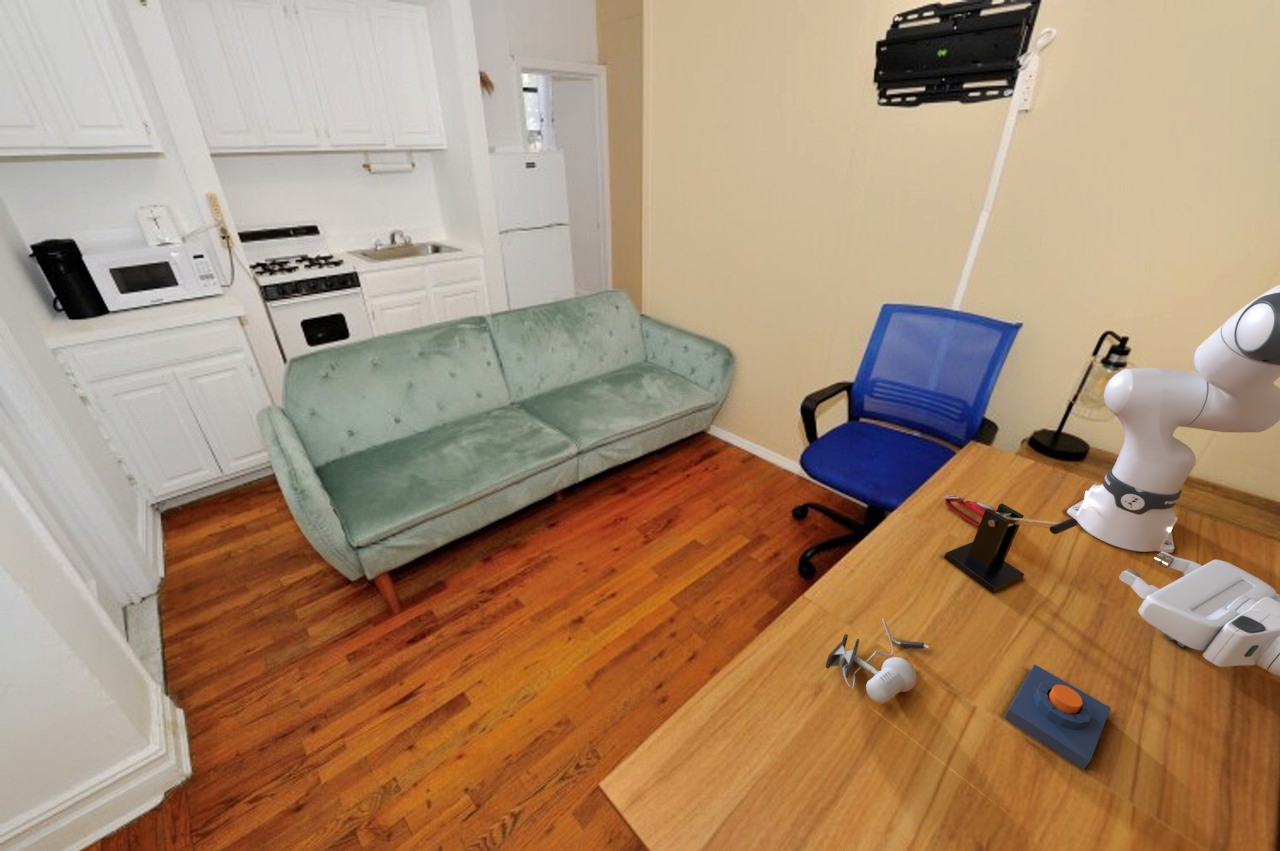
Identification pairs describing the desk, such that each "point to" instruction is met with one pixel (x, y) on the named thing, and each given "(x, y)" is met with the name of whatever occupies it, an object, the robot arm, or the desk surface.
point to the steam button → (1065, 699)
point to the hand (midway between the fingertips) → (1140, 564)
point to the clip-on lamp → (885, 682)
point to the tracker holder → (967, 507)
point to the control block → (1058, 718)
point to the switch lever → (1041, 523)
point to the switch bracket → (989, 551)
